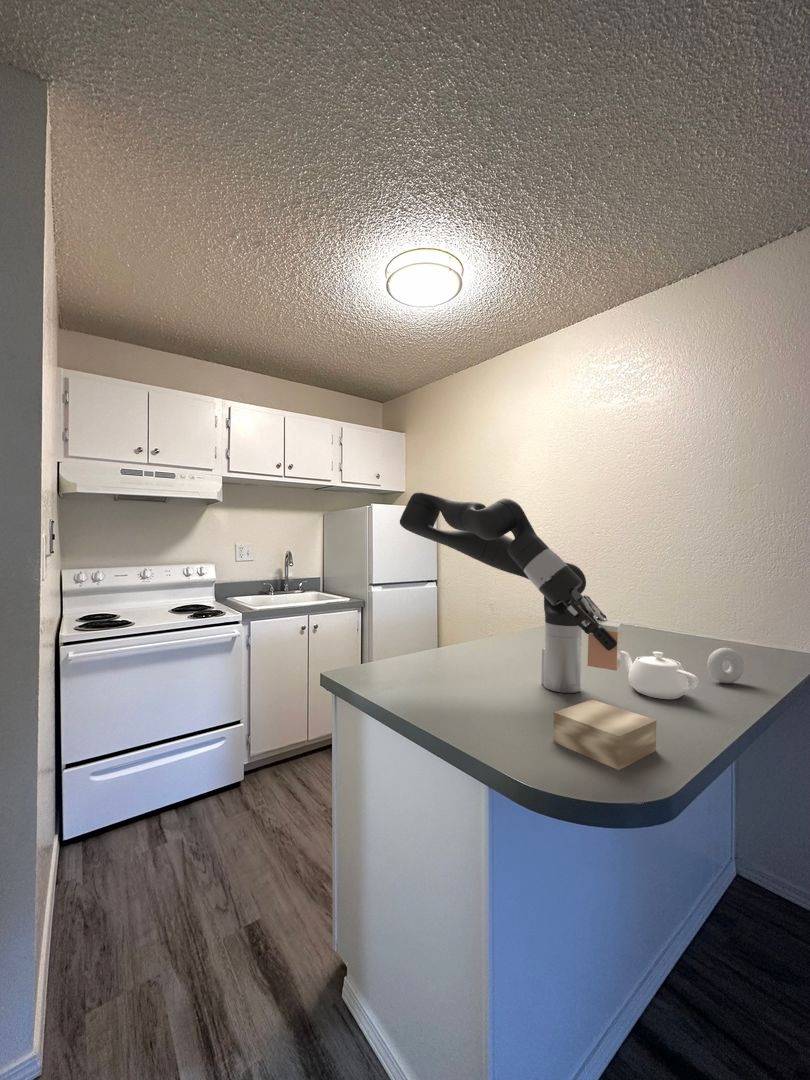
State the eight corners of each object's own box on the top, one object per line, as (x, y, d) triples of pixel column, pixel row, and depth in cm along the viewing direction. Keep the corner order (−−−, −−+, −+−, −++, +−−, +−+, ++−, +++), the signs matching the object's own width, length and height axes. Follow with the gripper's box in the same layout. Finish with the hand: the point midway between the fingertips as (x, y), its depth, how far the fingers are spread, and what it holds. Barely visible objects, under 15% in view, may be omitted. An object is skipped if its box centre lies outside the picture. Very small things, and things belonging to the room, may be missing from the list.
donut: (738, 681, 129) (738, 646, 129) (747, 685, 126) (748, 649, 126) (703, 681, 129) (704, 646, 129) (712, 684, 125) (713, 649, 125)
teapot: (715, 703, 110) (715, 659, 110) (677, 711, 105) (678, 664, 105) (636, 678, 130) (637, 640, 130) (601, 683, 125) (602, 644, 125)
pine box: (553, 743, 87) (553, 712, 87) (591, 728, 94) (592, 699, 94) (618, 772, 76) (619, 736, 76) (655, 752, 84) (656, 720, 84)
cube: (587, 665, 85) (588, 623, 85) (592, 660, 89) (593, 619, 89) (616, 670, 82) (618, 626, 82) (620, 664, 86) (621, 623, 86)
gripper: (547, 586, 98) (605, 649, 92) (527, 591, 86) (593, 665, 80) (573, 563, 96) (635, 626, 89) (557, 565, 83) (627, 639, 77)
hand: (615, 644), depth 84 cm, fingers closed on cube, 5 cm apart
